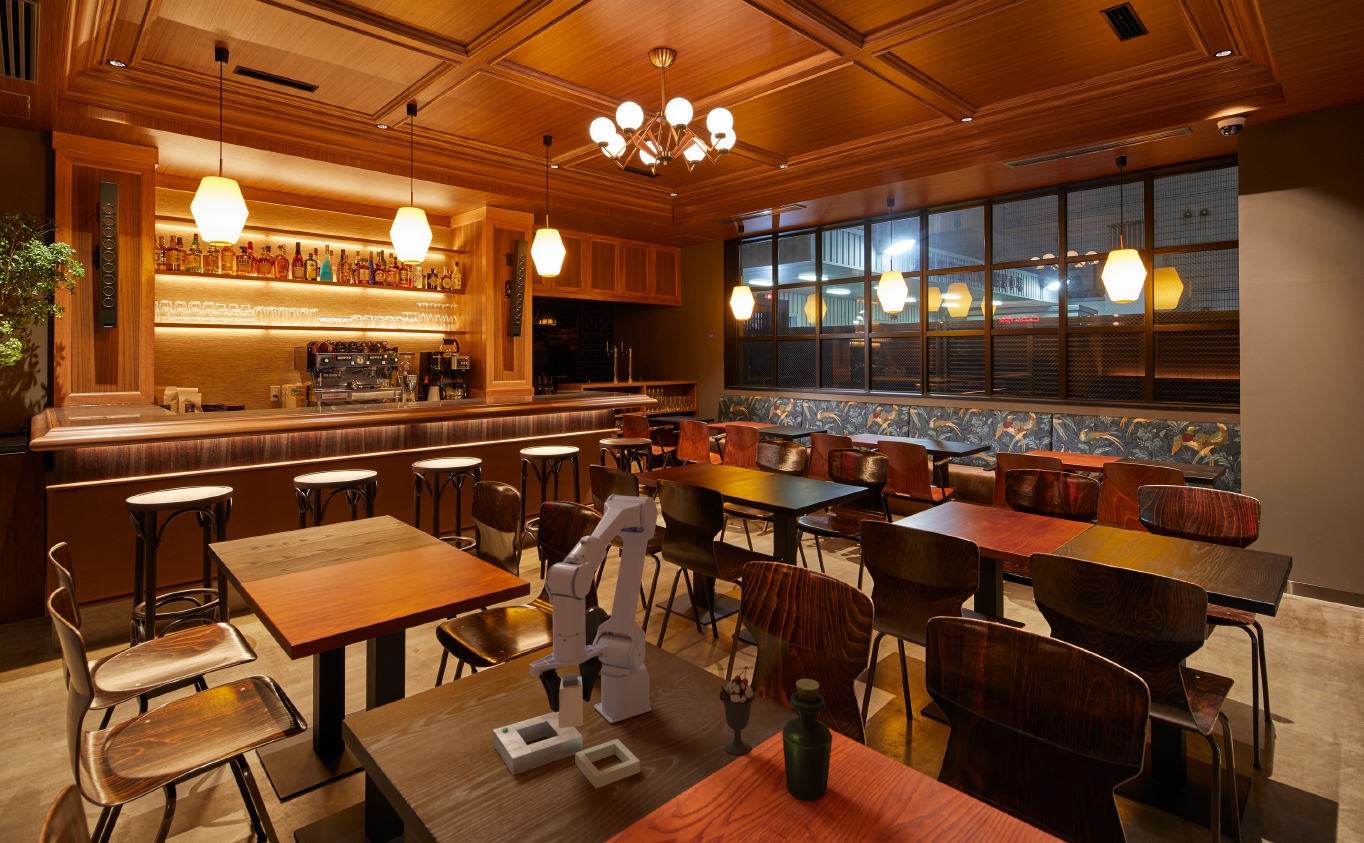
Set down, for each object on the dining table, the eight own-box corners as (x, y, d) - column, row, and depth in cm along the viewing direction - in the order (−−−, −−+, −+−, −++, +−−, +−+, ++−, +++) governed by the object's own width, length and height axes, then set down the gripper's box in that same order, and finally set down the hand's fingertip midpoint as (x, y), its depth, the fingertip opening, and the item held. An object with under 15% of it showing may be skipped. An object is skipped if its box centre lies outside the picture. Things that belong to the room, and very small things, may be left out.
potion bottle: (819, 771, 114) (820, 670, 113) (840, 801, 106) (841, 693, 105) (774, 777, 112) (775, 675, 111) (792, 808, 104) (793, 698, 103)
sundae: (760, 742, 123) (760, 664, 122) (748, 761, 117) (748, 679, 116) (727, 734, 126) (727, 658, 125) (714, 752, 120) (714, 672, 119)
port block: (559, 724, 129) (559, 708, 129) (582, 751, 120) (582, 734, 120) (493, 745, 122) (493, 728, 122) (513, 775, 113) (512, 756, 113)
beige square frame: (617, 749, 121) (617, 738, 121) (639, 772, 114) (639, 761, 114) (575, 763, 116) (575, 753, 116) (595, 788, 109) (595, 777, 109)
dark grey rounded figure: (599, 685, 146) (598, 618, 145) (564, 674, 151) (563, 609, 150) (627, 668, 154) (627, 605, 153) (593, 658, 160) (593, 597, 159)
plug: (582, 713, 120) (581, 670, 120) (582, 725, 116) (582, 681, 115) (558, 715, 119) (557, 672, 119) (558, 727, 115) (557, 683, 115)
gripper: (593, 614, 124) (594, 684, 125) (521, 633, 115) (522, 707, 116) (613, 626, 118) (614, 699, 119) (538, 646, 110) (540, 724, 111)
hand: (570, 704), depth 117 cm, fingers closed on plug, 6 cm apart
